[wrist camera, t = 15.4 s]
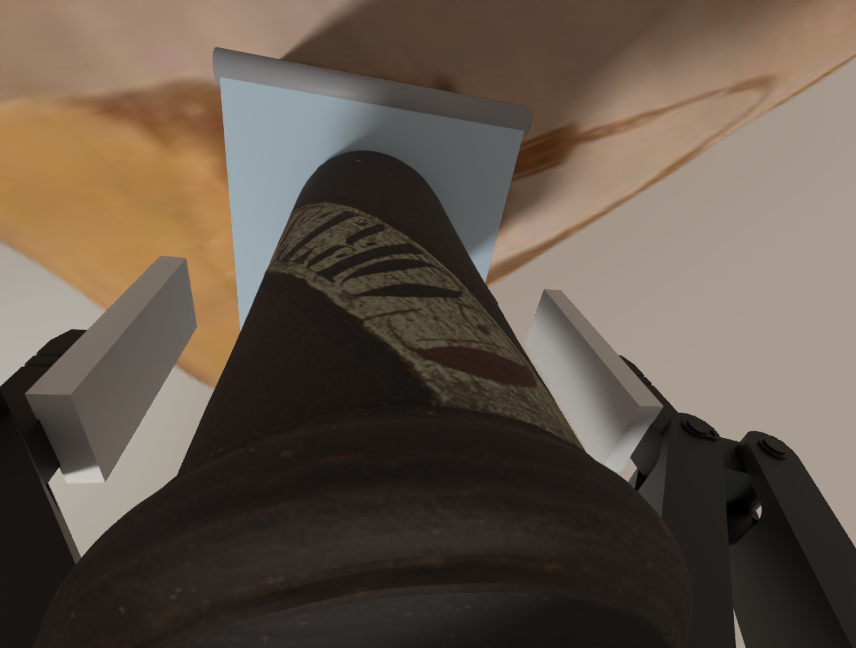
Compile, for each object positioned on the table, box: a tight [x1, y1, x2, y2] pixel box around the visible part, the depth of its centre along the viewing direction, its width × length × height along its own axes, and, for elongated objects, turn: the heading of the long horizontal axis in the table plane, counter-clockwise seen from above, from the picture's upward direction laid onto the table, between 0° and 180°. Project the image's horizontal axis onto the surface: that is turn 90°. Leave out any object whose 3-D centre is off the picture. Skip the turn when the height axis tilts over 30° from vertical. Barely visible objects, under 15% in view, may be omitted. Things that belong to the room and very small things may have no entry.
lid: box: [213, 47, 532, 332], centre depth 22 cm, size 15×14×1 cm
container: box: [33, 150, 693, 648], centre depth 13 cm, size 9×9×20 cm
